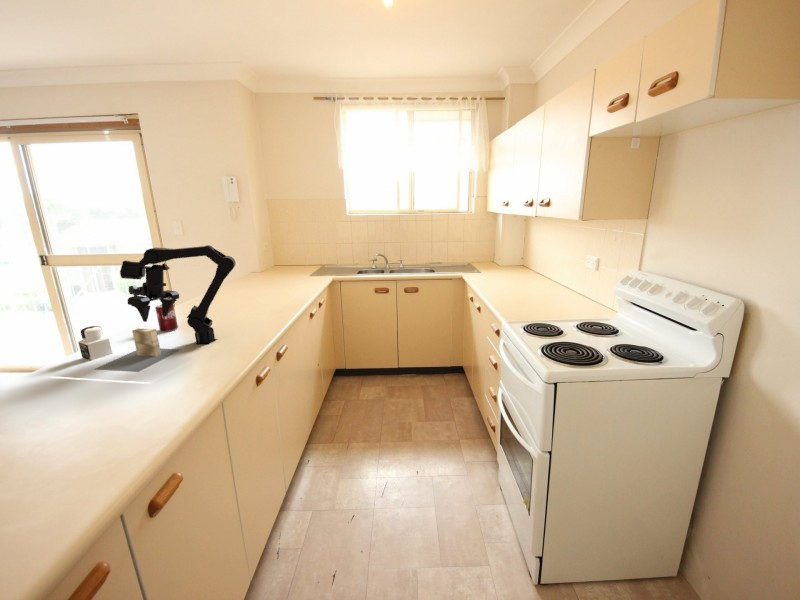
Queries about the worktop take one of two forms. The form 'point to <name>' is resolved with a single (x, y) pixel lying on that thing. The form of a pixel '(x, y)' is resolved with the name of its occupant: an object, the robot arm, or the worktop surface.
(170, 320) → the soda can
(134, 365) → the mat
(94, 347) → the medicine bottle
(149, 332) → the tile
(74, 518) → the worktop surface
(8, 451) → the worktop surface
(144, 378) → the worktop surface
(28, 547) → the worktop surface
